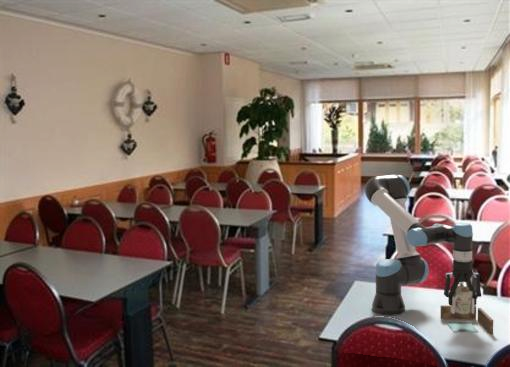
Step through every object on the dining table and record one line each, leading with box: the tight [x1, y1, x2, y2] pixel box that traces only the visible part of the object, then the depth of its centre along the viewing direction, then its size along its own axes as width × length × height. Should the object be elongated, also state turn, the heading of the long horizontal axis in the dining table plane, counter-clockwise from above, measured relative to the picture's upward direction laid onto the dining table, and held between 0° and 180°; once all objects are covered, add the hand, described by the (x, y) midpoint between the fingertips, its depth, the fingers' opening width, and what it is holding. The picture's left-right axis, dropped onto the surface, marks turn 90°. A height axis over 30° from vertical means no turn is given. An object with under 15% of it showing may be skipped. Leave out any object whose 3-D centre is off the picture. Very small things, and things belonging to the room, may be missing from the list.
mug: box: [453, 285, 473, 314], centre depth 207 cm, size 8×13×10 cm, turn 135°
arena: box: [440, 304, 494, 335], centre depth 210 cm, size 16×17×6 cm
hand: (462, 312), depth 208 cm, fingers closed on mug, 7 cm apart
